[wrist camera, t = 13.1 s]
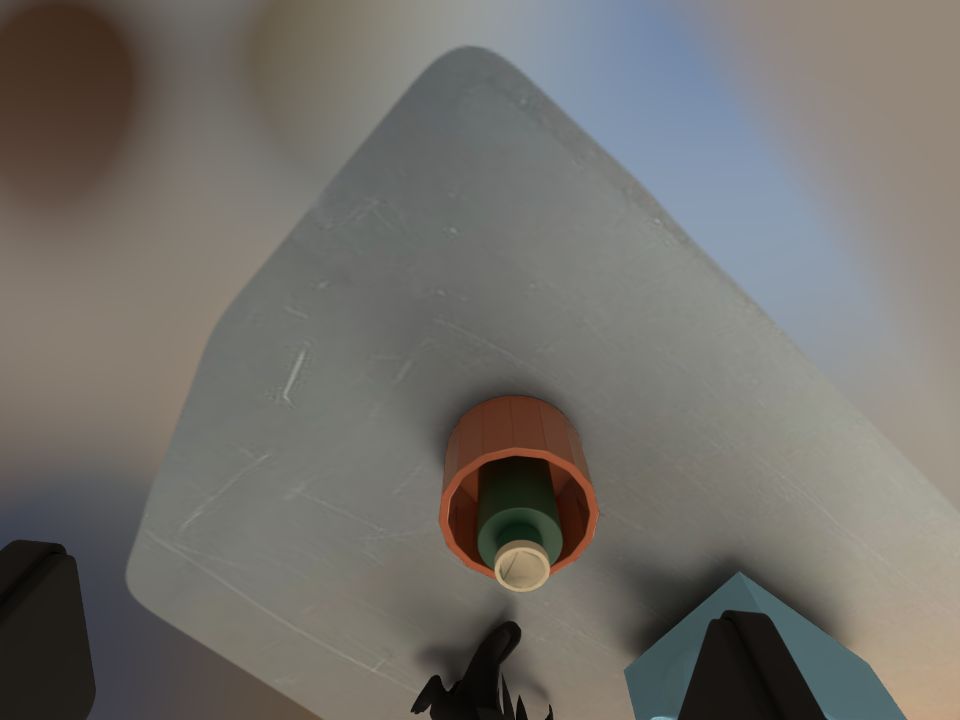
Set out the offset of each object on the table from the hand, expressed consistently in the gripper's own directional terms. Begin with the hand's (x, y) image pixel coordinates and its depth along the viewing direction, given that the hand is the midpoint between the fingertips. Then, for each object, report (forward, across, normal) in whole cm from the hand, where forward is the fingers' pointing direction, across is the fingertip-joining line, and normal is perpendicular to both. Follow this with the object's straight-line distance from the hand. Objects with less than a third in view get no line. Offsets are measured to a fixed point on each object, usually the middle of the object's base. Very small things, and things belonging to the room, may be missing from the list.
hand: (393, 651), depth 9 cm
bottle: (+28, -5, +13) cm, 31 cm away
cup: (+28, -5, +13) cm, 31 cm away
